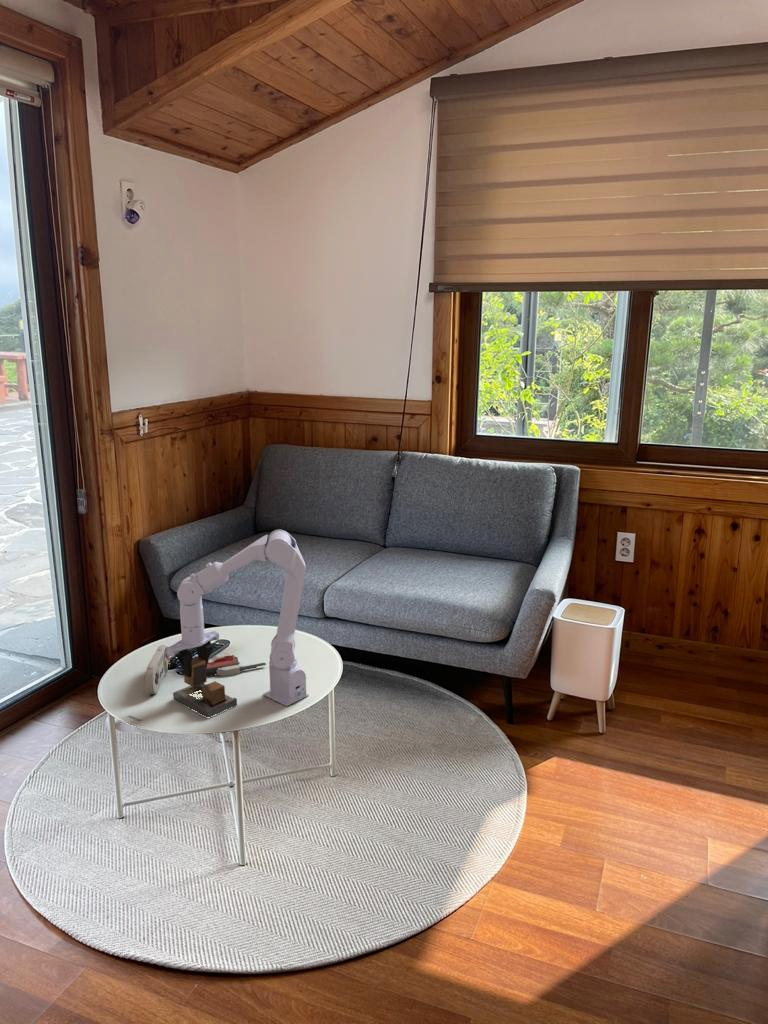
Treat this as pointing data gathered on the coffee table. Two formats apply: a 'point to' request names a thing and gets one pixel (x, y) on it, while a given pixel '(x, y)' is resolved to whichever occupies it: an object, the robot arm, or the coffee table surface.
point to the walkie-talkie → (226, 665)
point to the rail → (206, 698)
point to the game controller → (157, 670)
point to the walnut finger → (197, 672)
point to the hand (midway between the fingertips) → (195, 672)
